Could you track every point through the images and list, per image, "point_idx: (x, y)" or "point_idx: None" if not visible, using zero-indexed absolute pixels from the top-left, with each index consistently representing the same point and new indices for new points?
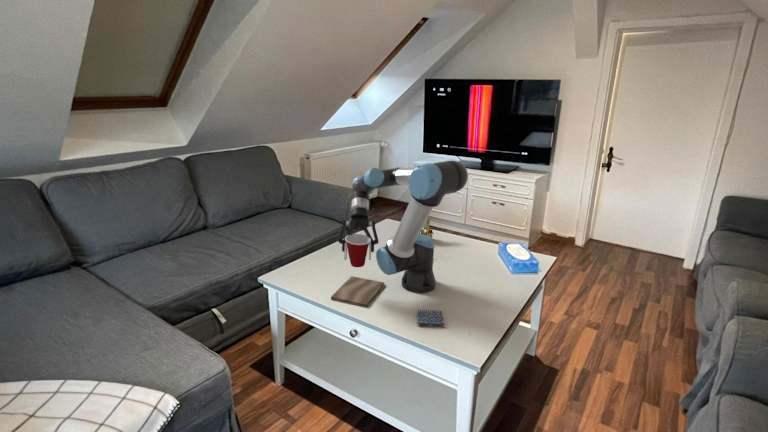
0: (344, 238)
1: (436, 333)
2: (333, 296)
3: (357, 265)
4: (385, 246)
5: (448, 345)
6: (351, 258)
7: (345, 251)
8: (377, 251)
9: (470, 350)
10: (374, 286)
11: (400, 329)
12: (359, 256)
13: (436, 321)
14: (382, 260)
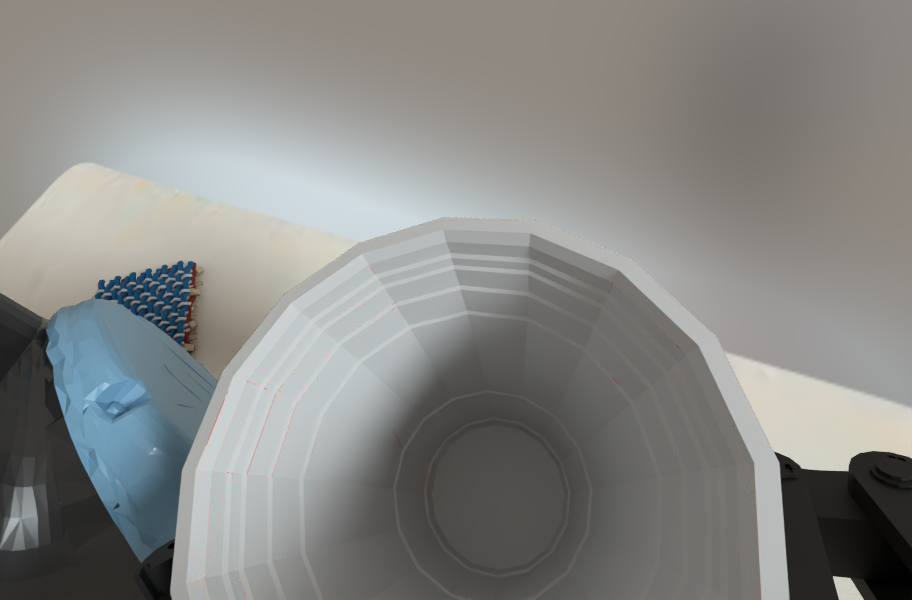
0: (805, 526)
1: (146, 249)
2: None
3: (476, 414)
4: (11, 428)
5: (126, 204)
6: (536, 392)
7: None
8: (190, 439)
9: (70, 202)
10: None
11: (268, 234)
12: (432, 376)
13: (120, 291)
14: (194, 393)
